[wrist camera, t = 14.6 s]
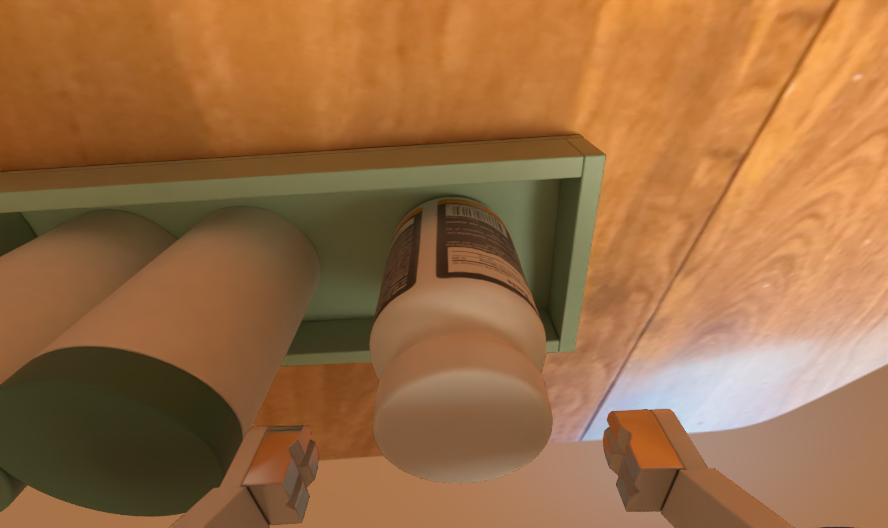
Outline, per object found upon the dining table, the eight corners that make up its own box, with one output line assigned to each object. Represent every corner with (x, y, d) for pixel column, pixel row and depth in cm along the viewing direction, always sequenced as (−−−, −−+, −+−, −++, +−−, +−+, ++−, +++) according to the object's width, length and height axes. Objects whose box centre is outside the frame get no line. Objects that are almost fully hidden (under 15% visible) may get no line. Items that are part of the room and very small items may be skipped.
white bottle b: (218, 310, 20) (56, 518, 12) (106, 316, 20) (-133, 525, 12) (167, 204, 17) (-104, 383, 9) (36, 213, 17) (-360, 396, 9)
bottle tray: (581, 134, 16) (607, 154, 14) (558, 312, 21) (574, 352, 19) (-12, 172, 17) (-94, 198, 14) (104, 337, 22) (60, 378, 19)
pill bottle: (430, 311, 20) (422, 514, 12) (368, 226, 18) (302, 409, 9) (530, 267, 19) (602, 461, 10) (479, 167, 16) (521, 320, 8)
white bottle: (329, 311, 20) (249, 517, 12) (214, 310, 20) (50, 518, 12) (309, 205, 17) (181, 383, 9) (173, 204, 17) (-92, 382, 9)
